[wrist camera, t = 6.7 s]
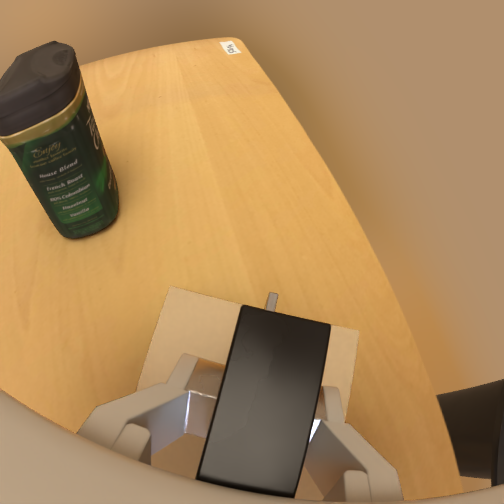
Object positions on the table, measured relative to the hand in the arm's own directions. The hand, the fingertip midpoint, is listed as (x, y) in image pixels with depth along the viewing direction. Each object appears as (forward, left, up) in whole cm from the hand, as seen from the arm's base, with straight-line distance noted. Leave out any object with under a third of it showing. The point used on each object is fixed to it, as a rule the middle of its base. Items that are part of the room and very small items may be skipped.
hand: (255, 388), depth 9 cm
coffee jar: (+14, -21, -17) cm, 31 cm away
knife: (0, +1, -9) cm, 9 cm away
